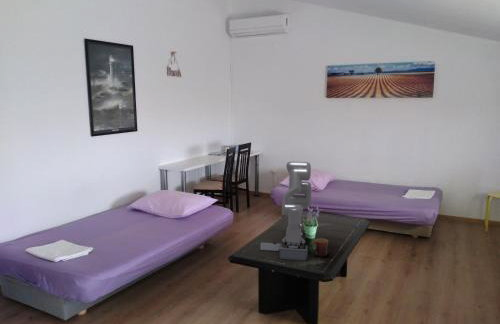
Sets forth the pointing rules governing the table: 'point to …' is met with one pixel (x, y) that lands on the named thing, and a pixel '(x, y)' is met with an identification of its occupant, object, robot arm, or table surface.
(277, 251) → the track
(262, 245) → the lock bar
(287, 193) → the robot arm
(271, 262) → the table surface
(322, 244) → the mug
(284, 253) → the grey open bin
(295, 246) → the lock block
